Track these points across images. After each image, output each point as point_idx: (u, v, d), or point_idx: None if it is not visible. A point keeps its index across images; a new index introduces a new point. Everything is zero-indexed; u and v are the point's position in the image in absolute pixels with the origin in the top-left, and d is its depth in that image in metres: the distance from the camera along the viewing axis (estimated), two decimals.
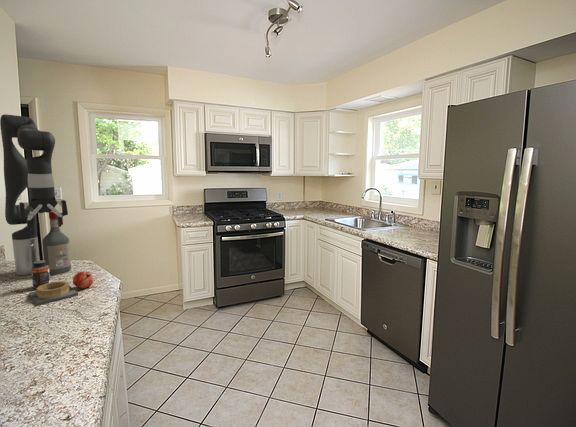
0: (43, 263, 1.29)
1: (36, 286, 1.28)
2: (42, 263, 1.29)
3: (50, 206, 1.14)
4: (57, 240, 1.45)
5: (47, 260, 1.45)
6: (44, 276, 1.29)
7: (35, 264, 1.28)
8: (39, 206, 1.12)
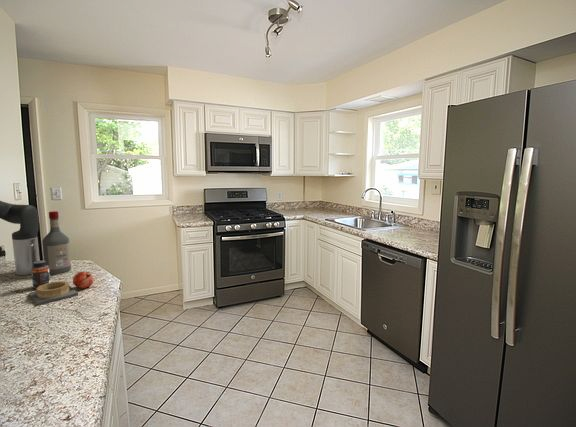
0: (43, 263, 1.29)
1: (36, 286, 1.28)
2: (42, 263, 1.29)
3: None
4: (57, 240, 1.45)
5: (47, 260, 1.45)
6: (44, 276, 1.29)
7: (35, 264, 1.28)
8: None
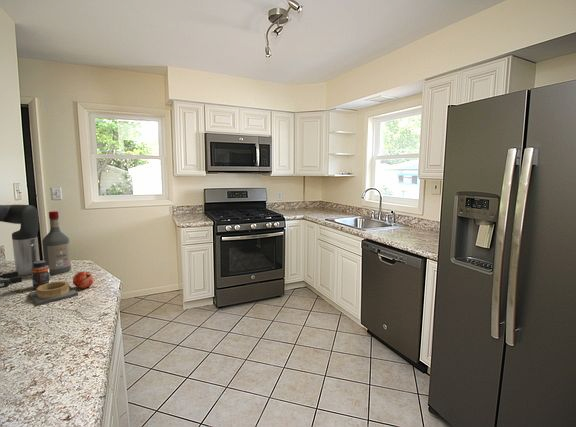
0: (43, 263, 1.29)
1: (36, 286, 1.28)
2: (42, 263, 1.29)
3: None
4: (57, 240, 1.45)
5: (47, 260, 1.45)
6: (44, 276, 1.29)
7: (35, 264, 1.28)
8: None
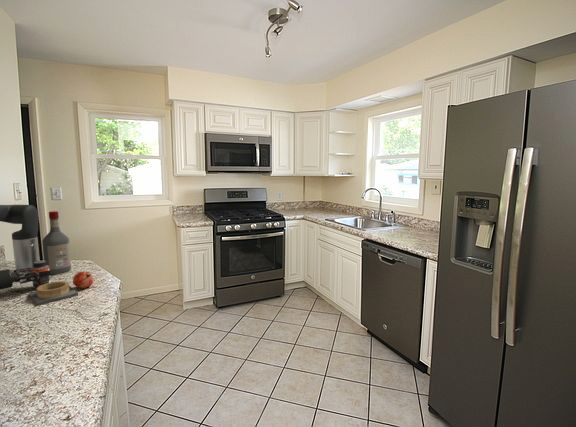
0: (43, 263, 1.29)
1: (36, 286, 1.28)
2: (42, 263, 1.29)
3: None
4: (57, 240, 1.45)
5: (47, 260, 1.45)
6: None
7: (35, 264, 1.28)
8: None
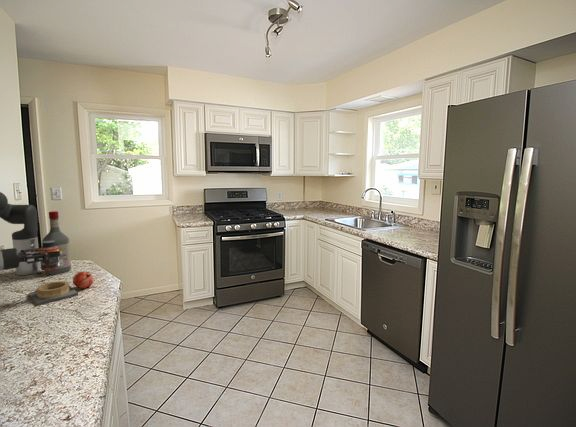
0: (52, 243, 1.19)
1: (44, 268, 1.18)
2: (52, 243, 1.19)
3: None
4: (57, 240, 1.45)
5: None
6: (53, 257, 1.19)
7: (44, 244, 1.18)
8: None
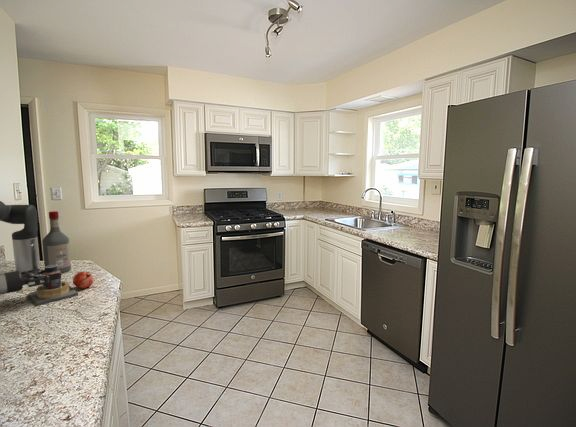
0: (54, 268, 1.21)
1: None
2: (54, 268, 1.21)
3: None
4: (57, 240, 1.45)
5: (47, 260, 1.45)
6: (55, 282, 1.20)
7: (46, 269, 1.19)
8: None
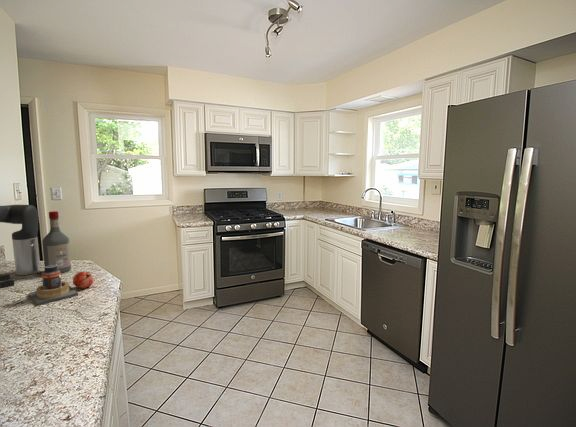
0: (54, 268, 1.21)
1: None
2: (54, 268, 1.21)
3: None
4: (57, 240, 1.45)
5: (47, 260, 1.45)
6: (55, 282, 1.20)
7: (46, 269, 1.19)
8: None
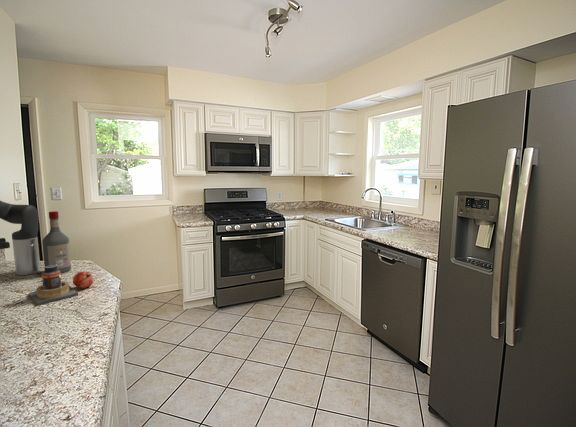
0: (54, 268, 1.21)
1: None
2: (54, 268, 1.21)
3: None
4: (57, 240, 1.45)
5: (47, 260, 1.45)
6: (55, 282, 1.20)
7: (46, 269, 1.19)
8: None
